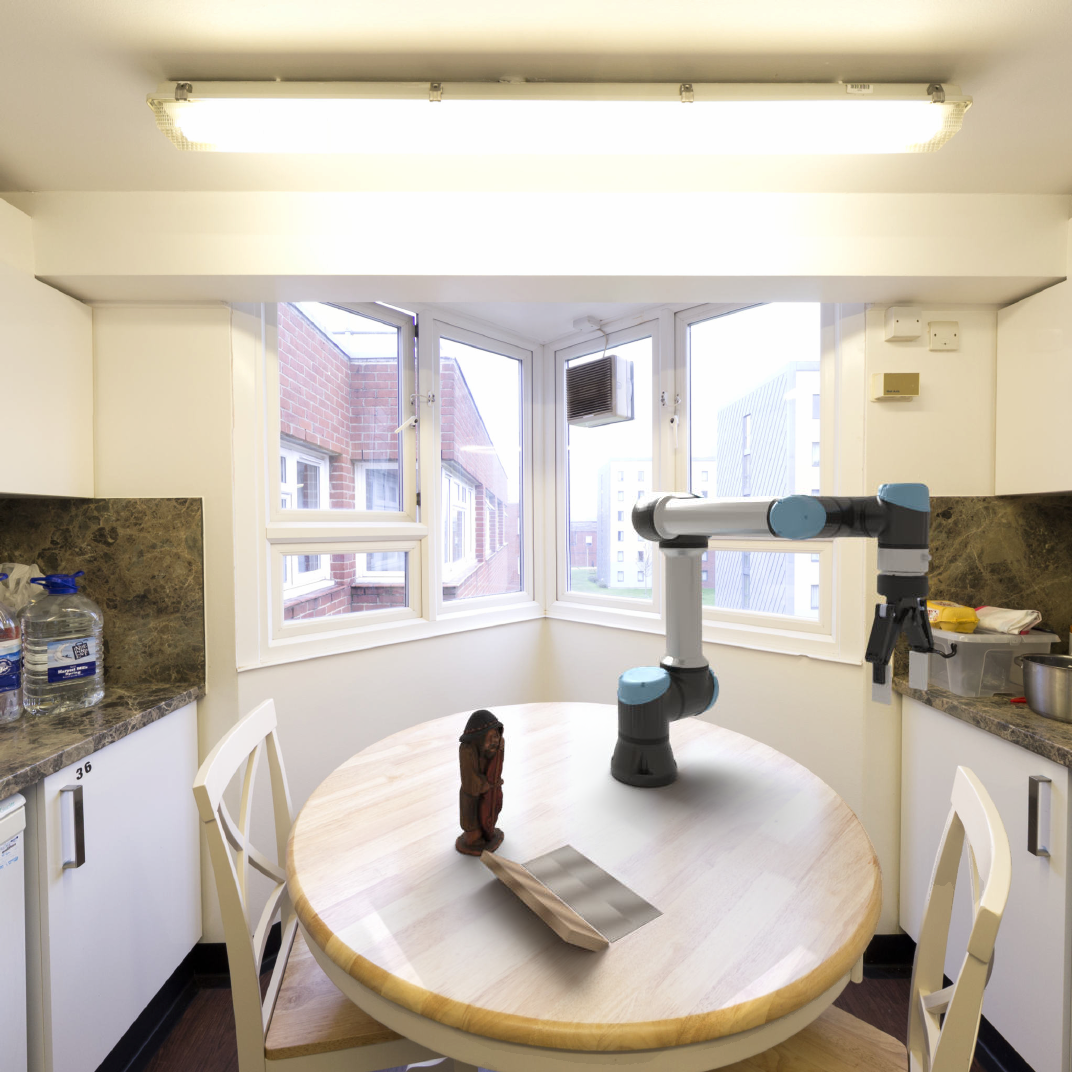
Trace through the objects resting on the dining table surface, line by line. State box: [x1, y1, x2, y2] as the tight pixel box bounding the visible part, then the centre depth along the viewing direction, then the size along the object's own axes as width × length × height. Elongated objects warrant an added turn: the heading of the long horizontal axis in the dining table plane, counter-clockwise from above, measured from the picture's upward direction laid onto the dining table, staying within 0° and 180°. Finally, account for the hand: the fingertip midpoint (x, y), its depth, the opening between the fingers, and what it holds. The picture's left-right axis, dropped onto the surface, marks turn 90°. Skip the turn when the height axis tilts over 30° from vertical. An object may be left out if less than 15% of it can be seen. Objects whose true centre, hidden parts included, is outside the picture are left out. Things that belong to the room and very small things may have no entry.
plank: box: [479, 850, 610, 953], centre depth 85 cm, size 22×8×2 cm
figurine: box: [455, 709, 506, 857], centre depth 103 cm, size 10×8×25 cm
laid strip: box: [520, 844, 664, 944], centre depth 91 cm, size 22×10×2 cm, turn 35°
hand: (900, 695), depth 101 cm, fingers open, 13 cm apart
